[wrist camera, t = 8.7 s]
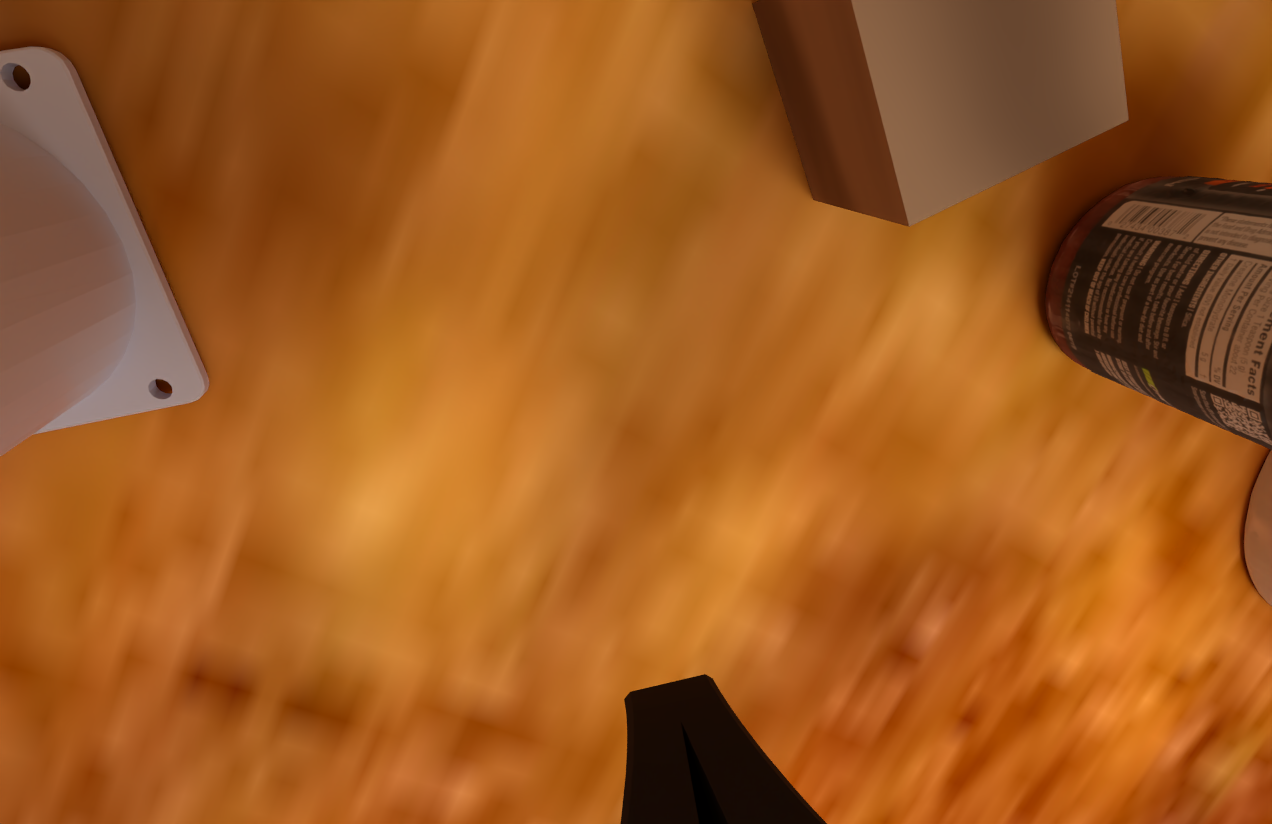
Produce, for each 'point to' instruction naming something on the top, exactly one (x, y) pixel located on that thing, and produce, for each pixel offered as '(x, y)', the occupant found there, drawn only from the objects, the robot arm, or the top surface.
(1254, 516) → the utensil holder
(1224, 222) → the supplement bottle
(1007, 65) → the walnut block
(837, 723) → the top surface
